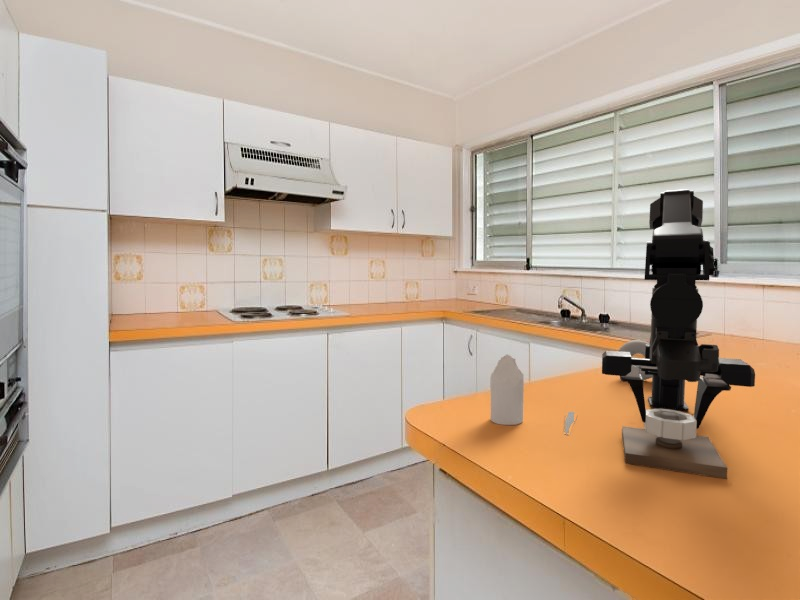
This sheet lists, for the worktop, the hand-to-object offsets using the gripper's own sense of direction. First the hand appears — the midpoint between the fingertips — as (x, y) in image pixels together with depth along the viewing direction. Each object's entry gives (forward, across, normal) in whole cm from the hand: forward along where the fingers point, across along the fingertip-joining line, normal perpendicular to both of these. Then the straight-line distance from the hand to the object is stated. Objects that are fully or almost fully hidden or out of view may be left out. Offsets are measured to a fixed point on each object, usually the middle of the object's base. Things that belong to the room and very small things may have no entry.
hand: (669, 424), depth 68 cm
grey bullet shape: (+5, -25, +6) cm, 26 cm away
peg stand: (+4, 0, 0) cm, 5 cm away
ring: (+1, 0, 0) cm, 1 cm away
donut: (+5, -1, +49) cm, 49 cm away
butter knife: (+5, -14, +2) cm, 15 cm away
